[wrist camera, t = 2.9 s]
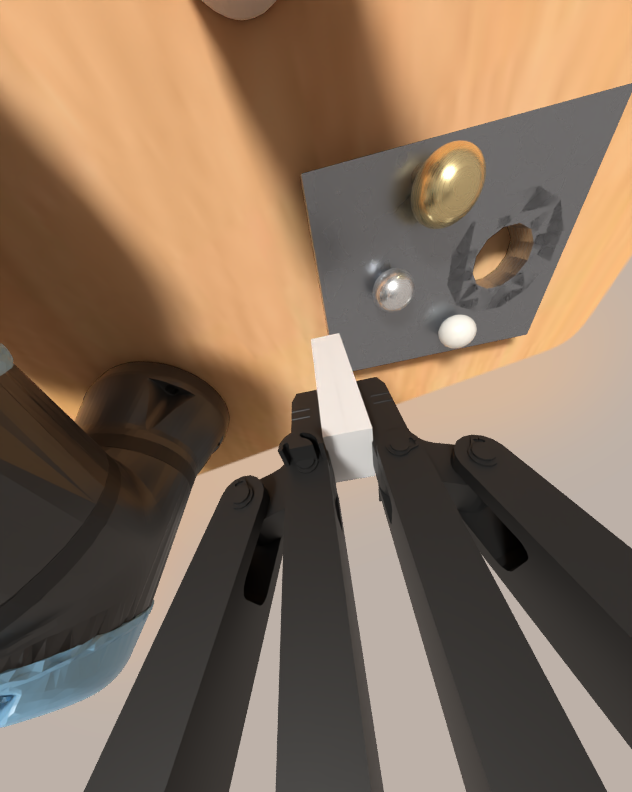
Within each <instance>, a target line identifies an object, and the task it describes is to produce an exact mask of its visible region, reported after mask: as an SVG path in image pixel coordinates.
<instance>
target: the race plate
mask: <svg viewBox="0 0 632 792" xmlns="http://www.w3.org/2000/svg"><path fill="white" fill-rule="evenodd" d="M631 93H632V83H631V84H627V85H624V86H620V87H616V88H613V89H609V90H605V91H602V92H598V93H595V94H591V95H587V96H584V97H580V98H576V99H573V100H569V101H565V102H562V103H558V104H554V105H551V106H547V107H543V108H540V109H536V110H532V111H529V112H525V113H521V114H518V115H514V116H511V117H507V118H503V119H500V120H496V121H492V122H489V123H485V124H481V125H478V126H474V127H470V128H467V129H463V130H459V131H456V132H452V133H448V134H445V135H441V136H437V137H434V138H430V139H427V140H423V141H419V142H416V143H412V144H408V145H405V146H401V147H397V148H394V149H390V150H386V151H383V152H379V153H375V154H372V155H368V156H364V157H361V158H357V159H353V160H350V161H346V162H342V163H339V164H335V165H332V166H328V167H324V168H321V169H317V170H313V171H310V172H306V173H302V174H301V176H300V180H301V185H302V191H303V196H304V202H305V208H306V213H307V219H308V225H309V230H310V236H311V241H312V247H313V253H314V258H315V264H316V270H317V275H318V281H319V286H320V292H321V298H322V303H323V309H324V315H325V320H326V326H327V331H328V335H333V334H337V333H339V334H340V337H341V340H342V342H343V345H344V348H345V351H346V354H347V357H348V360H349V362H350V365H351V368H352V371H356V370H361V369H365V368H370V367H375V366H379V365H384V364H389V363H394V362H398V361H403V360H408V359H413V358H417V357H422V356H427V355H431V354H436V353H441V352H446V351H450V350H455V349H460V348H449V347H446V346H445V345H443V344H442V343H441V341H440V340H439V336H438V331H439V328H440V326H441V324H442V323H443V322H444V321H445V320H446V319H447V318H449V317H451V316H454V315H466V316H469V317H470V318H472V319H473V320H474V322H475V324H476V327H477V331H476V335H475V337H474V339H473V340H472V341H471V342H470V343H469V344H468V345H466V346H464V347H469V346H474V345H479V344H483V343H488V342H493V341H498V340H502V339H507V338H512V337H516V336H521V335H526V334H527V333H528V330H529V328H530V326H531V323H532V321H533V319H534V317H535V314H536V312H537V310H538V307H539V305H540V303H541V300H542V298H543V296H544V293H545V291H546V289H547V287H548V284H549V282H550V280H551V277H552V275H553V273H554V270H555V268H556V266H557V263H558V261H559V259H560V257H561V254H562V252H563V250H564V247H565V245H566V243H567V240H568V238H569V236H570V234H571V231H572V229H573V227H574V224H575V222H576V220H577V217H578V215H579V213H580V210H581V208H582V206H583V204H584V201H585V199H586V197H587V194H588V192H589V190H590V187H591V185H592V183H593V180H594V178H595V176H596V174H597V171H598V169H599V167H600V164H601V162H602V160H603V157H604V155H605V153H606V150H607V148H608V146H609V144H610V141H611V139H612V137H613V134H614V132H615V130H616V127H617V125H618V123H619V120H620V118H621V116H622V114H623V111H624V109H625V107H626V104H627V102H628V100H629V97H630V95H631ZM459 140H463V141H468V142H471V143H473V144H475V145H476V146H477V147H478V148H479V149H480V150H481V152H482V154H483V156H484V158H485V163H486V177H485V182H484V186H483V189H482V192H481V194H480V196H479V198H478V200H477V202H476V203H475V205H474V206H473V207H472V209H471V210H470V211H469V212H468V213H467V214H466V215H465V216H464V217H463V218H462V219H461V220H459V221H458V222H456V223H455V224H453V225H451V226H449V227H445V228H442V229H430V228H427V227H424V226H423V225H421V224H420V223H419V222H418V221H417V220H416V218H415V216H414V214H413V212H412V208H411V191H412V186H413V183H414V180H415V178H416V175H417V173H418V171H419V170H420V168H421V166H422V165H423V163H424V162H425V161H426V160H427V158H428V157H429V156H430V155H431V154H432V153H433V152H435V151H436V150H437V149H438V148H440V147H442V146H443V145H445V144H447V143H450V142H453V141H459ZM505 226H507V227H508V230H509V234H510V238H511V240H510V244H509V247H508V251H507V254H506V256H505V257H504V259H503V260H502V261H501V263H500V264H499V266H498V267H497V268H496V269H495V270H494V271H493V272H491V273H490V274H489V275H487V276H486V277H484V278H483V279H479V280H475V279H474V276H473V268H474V264H475V259H476V256H477V255H478V253H479V252H480V250H481V249H482V247H483V245H484V244H485V242H486V241H487V240H488V239H489V238H490V237H491V236H493V235H494V234H495V233H497V232H498V231H499V230H500V229H502V228H503V227H505ZM391 268H402V269H404V270H406V271H408V272H409V273H410V274H411V275H412V277H413V279H414V282H415V292H414V296H413V298H412V300H411V301H410V303H409V304H408V305H407V306H406V307H405V308H403V309H402V310H399V311H397V312H385V311H383V310H381V309H380V308H378V307H377V305H376V304H375V302H374V300H373V295H372V291H373V286H374V283H375V281H376V280H377V278H378V277H379V276H380V275H381V274H382V273H383V272H385V271H386V270H388V269H391ZM464 347H461V348H464Z"/></svg>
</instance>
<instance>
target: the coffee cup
mask: <svg viewBox="0 0 632 792" xmlns="http://www.w3.org/2000/svg"><path fill="white" fill-rule="evenodd" d="M201 1H202V2H204V3H205V4H206V5H207V6H209V7H210V8H211V9H212V10H214V11H215V12H217V13H219V14H221V15H223V16H225V17H227V18H231V19H236V20H248V19H252V18H255V17H257V16H259V15H261V14H263V13H265V12H266V11H267V10H268V9H269V8H270V7H271V6H272V5H273V4H274V3H275V2H276V0H201Z"/></svg>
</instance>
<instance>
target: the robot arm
mask: <svg viewBox="0 0 632 792" xmlns="http://www.w3.org/2000/svg"><path fill="white" fill-rule="evenodd" d="M311 344H312V352H313V360H314V369H315V377H316V385H317V390H314V391H309V392H304V393H299V394H296V396H295V398H294V400H293V402H292V428H291V433H290V434H289V435H287V436H286V437H285V438H284V439H283V440H282V442H281V443H280V445H279V449H278V452H279V454H280V456H281V458H282V460H283V462H284V465H283V466H282V467H281V468H280V469H279V470H277V471H275V472H274V473H272V474H270V475H268V476H266V477H264V478H262V479H260V480H259V479H258V478H257V477H254V476H251V475H250V476H243V477H241V478H239V479H237V480H235V481H234V482H232V483H231V484H230V485H229V486H228V487H227V488H226V490H225V492H224V493H223V495H222V497H221V499H220V501H219V503H218V505H217V507H216V510H215V512H214V514H213V516H212V518H211V520H210V522H209V525H208V527H207V529H206V531H205V533H204V535H203V537H202V539H201V542H200V544H199V546H198V548H197V551H196V552H195V554H194V557H193V559H192V561H191V563H190V565H189V567H188V569H187V572H186V574H185V576H184V578H183V580H182V582H181V585H180V587H179V589H178V591H177V593H176V595H175V597H174V599H173V602H172V604H171V606H170V608H169V610H168V613H167V615H166V617H165V619H164V621H163V623H162V625H161V627H160V629H159V631H158V634H157V636H156V638H155V640H154V642H153V644H152V646H151V649H150V651H149V653H148V655H147V657H146V659H145V662H144V664H143V666H142V668H141V670H140V672H139V674H138V677H137V679H136V681H135V683H134V685H133V687H132V689H131V692H130V694H129V696H128V698H127V700H126V702H125V705H124V706H123V709H122V711H121V713H120V715H119V717H118V719H117V721H116V724H115V726H114V728H113V730H112V732H111V734H110V736H109V738H108V741H107V743H106V745H105V747H104V749H103V751H102V753H101V756H100V758H99V760H98V762H97V764H96V766H95V769H94V771H93V773H92V775H91V777H90V779H89V781H88V783H87V786H86V788H85V790H84V792H229V788H230V784H231V780H232V775H233V771H234V767H235V762H236V758H237V753H238V749H239V745H240V740H241V736H242V731H243V727H244V723H245V718H246V714H247V709H248V705H249V700H250V696H251V692H252V687H253V683H254V678H255V674H256V670H257V665H258V661H259V656H260V652H261V648H262V643H263V639H264V634H265V630H266V626H267V621H268V617H269V613H270V608H271V604H272V599H273V595H274V591H275V586H276V582H277V578H278V573H279V569H280V564H281V560H282V556H283V577H282V607H281V641H280V672H279V702H278V703H279V704H278V735H277V766H276V792H384V791H383V784H382V777H381V770H380V764H379V758H378V751H377V744H376V738H375V732H374V725H373V719H372V712H371V706H370V699H369V693H368V686H367V680H366V673H365V666H364V659H363V653H362V646H361V640H360V633H359V627H358V621H357V614H356V607H355V601H354V594H353V588H352V581H351V575H350V568H349V561H348V555H347V549H346V542H345V536H344V529H343V522H342V516H341V509H340V503H339V498H338V494H337V489H336V482H342V481H348V480H353V479H359V478H365V477H371V476H375V473H376V477H377V480H378V484H379V501H382V503H383V507H384V510H385V514H386V517H387V521H388V524H389V527H390V531H391V534H392V538H393V541H394V545H395V548H396V552H397V555H398V558H399V562H400V565H401V569H402V572H403V576H404V579H405V582H406V586H407V589H408V593H409V596H410V599H411V603H412V607H413V610H414V613H415V617H416V620H417V623H418V627H419V631H420V634H421V637H422V641H423V644H424V648H425V651H426V655H427V658H428V661H429V665H430V668H431V672H432V675H433V679H434V682H435V686H436V689H437V692H438V696H439V699H440V703H441V706H442V709H443V713H444V716H445V720H446V723H447V727H448V730H449V734H450V737H451V741H452V743H453V747H454V751H455V754H456V758H457V761H458V765H459V768H460V771H461V774H462V778H463V782H464V785H465V789H466V792H607V790H606V789H605V787H604V785H603V783H602V781H601V779H600V777H599V775H598V774H597V772H596V770H595V768H594V766H593V764H592V762H591V760H590V759H589V757H588V755H587V753H586V751H585V749H584V747H583V745H582V744H581V741H580V740H579V738H578V736H577V734H576V732H575V730H574V728H573V726H572V725H571V723H570V721H569V719H568V717H567V715H566V713H565V711H564V709H563V708H562V706H561V704H560V702H559V700H558V698H557V696H556V694H555V693H554V691H553V689H552V687H551V685H550V683H549V681H548V680H547V677H546V676H545V674H544V672H543V670H542V668H541V666H540V664H539V663H538V661H537V659H536V657H535V655H534V653H533V651H532V649H531V647H530V646H529V644H528V642H527V640H526V638H525V636H524V634H523V632H522V631H521V629H520V627H519V625H518V623H517V621H516V619H515V617H514V615H513V614H512V612H511V610H510V608H509V606H508V604H507V602H506V600H505V599H504V597H503V595H502V593H501V591H500V589H499V587H498V585H497V584H496V581H495V580H494V578H493V576H492V574H491V572H490V570H489V568H488V566H487V565H486V563H485V561H484V559H483V557H482V555H483V556H484V558H485V559H486V561H487V562H488V563H489V565H490V566H491V567H492V568H493V570H494V571H495V572H496V573H497V575H498V576H499V578H500V579H501V580H502V581H503V583H504V584H505V585H506V587H507V588H508V589H509V590H510V592H511V593H512V594H513V596H514V597H515V598H516V600H517V601H518V602H519V603H520V605H521V606H522V607H523V609H524V610H525V611H526V612H527V614H528V615H529V616H530V618H531V619H532V620H533V622H534V623H535V624H536V625H537V627H538V628H539V629H540V631H541V632H542V633H543V635H544V636H545V637H546V638H547V640H548V641H549V642H550V644H551V645H552V646H553V648H554V649H555V650H556V651H557V653H558V654H559V655H560V657H561V658H562V659H563V661H564V662H565V663H566V664H567V665H568V667H569V668H570V669H571V671H572V672H573V674H574V675H575V676H576V677H577V679H578V680H579V681H580V682H581V684H582V685H583V686H584V688H585V689H586V690H587V692H588V693H589V694H590V696H591V697H592V698H593V699H594V701H595V702H596V703H597V705H598V706H599V707H600V709H601V710H602V711H603V712H604V714H605V715H606V716H607V717H608V719H609V720H610V722H611V723H612V724H613V725H614V727H615V728H616V729H617V731H618V732H619V733H620V734H621V736H622V737H623V738H624V740H625V741H626V742H627V744H628V745H629V746H630V747H631V749H632V549H631V548H630V547H629V546H627V545H626V544H625V543H624V542H623V541H622V540H620V539H619V538H618V537H616V536H615V535H614V534H613V533H611V532H610V531H609V530H608V529H607V528H605V527H604V526H603V525H601V524H600V523H599V522H598V521H596V520H595V519H594V518H593V517H592V516H590V515H589V514H588V513H587V512H585V511H584V510H583V509H582V508H580V507H579V506H578V505H577V504H575V503H574V502H573V501H572V500H570V499H569V498H568V497H567V496H565V495H564V494H563V493H562V492H560V491H559V490H558V489H557V488H556V487H554V486H553V485H552V484H551V483H549V482H548V481H547V480H546V479H544V478H543V477H542V476H541V475H539V474H538V473H537V472H535V471H534V470H533V469H532V468H531V467H529V466H528V465H527V464H525V463H524V462H523V461H522V460H520V459H519V458H518V457H517V456H516V455H514V454H513V453H512V452H511V451H509V450H508V449H507V448H505V447H504V446H503V445H502V444H500V443H498V442H497V441H495V440H493V439H491V438H488V437H484V436H479V435H469V436H464V437H462V438H460V439H459V440H457V441H456V444H455V445H452V444H441V443H432V442H427V441H424V440H422V439H420V438H418V437H417V436H415V435H414V434H412V433H411V432H410V431H409V429H408V428H407V426H406V424H405V422H404V421H403V418H402V416H401V415H400V413H399V410H398V408H397V407H396V405H395V403H394V401H393V399H392V397H391V395H390V394H389V391H388V389H387V387H386V385H385V383H384V382H382V381H381V380H380V379H378V378H377V377H374V378H369V379H364V380H359V381H356V380H355V377H354V374H353V371H352V368H351V365H350V362H349V360H348V357H347V354H346V351H345V348H344V345H343V342H342V340H341V337H340V334H339V333H337V334H333V335H328V336H323V337H319V338H314V339H311ZM228 425H229V413H228V409H227V407H226V405H225V403H224V401H223V399H222V398H221V397H220V395H219V394H218V393H217V392H216V391H215V390H214V389H213V388H212V387H211V386H210V385H208V384H207V383H206V382H204V381H203V380H201V379H200V378H198V377H196V376H194V375H193V374H191V373H188V372H186V371H184V370H181V369H179V368H176V367H173V366H169V365H165V364H160V363H153V362H131V363H125V364H121V365H118V366H116V367H113V368H111V369H110V370H108V371H107V372H105V373H104V374H103V375H102V376H101V377H100V378H99V379H98V380H96V381H95V382H94V383H93V384H92V385H91V386H90V388H89V389H88V390H87V392H86V394H85V396H84V399H83V402H82V405H81V407H80V409H79V412H78V414H77V417H76V419H75V422H74V421H73V420H72V419H71V418H70V417H69V416H68V415H67V414H66V413H65V412H64V411H63V410H62V409H61V408H60V407H59V406H58V405H56V404H55V403H54V402H53V401H52V400H51V399H50V398H49V397H48V396H47V395H46V394H45V393H44V392H43V391H42V390H41V389H40V388H39V387H38V386H37V385H36V384H35V383H34V382H32V381H31V380H30V379H29V378H28V377H27V376H26V375H25V374H24V373H23V372H22V371H21V370H20V369H19V368H18V367H17V366H16V365H15V364H14V363H13V357H12V355H11V354H10V352H9V350H8V349H7V348H6V347H5V346H4V345H3V344H1V343H0V727H6V726H9V725H12V724H16V723H19V722H22V721H26V720H29V719H32V718H35V717H39V716H41V715H45V714H47V713H50V712H53V711H56V710H59V709H61V708H64V707H67V706H69V705H72V704H74V703H77V702H79V701H82V700H84V699H86V698H88V697H90V696H92V695H94V694H95V693H97V692H99V691H100V690H102V689H103V688H105V687H106V686H107V685H108V684H109V683H111V682H112V681H113V680H114V679H115V678H116V677H117V676H118V674H119V673H120V672H121V671H122V669H123V668H124V666H125V665H126V663H127V662H128V660H129V658H130V656H131V654H132V652H133V649H134V647H135V645H136V642H137V640H138V638H139V635H140V633H141V631H142V629H143V626H144V624H145V622H146V620H147V617H148V615H149V614H150V612H151V610H152V607H153V604H154V600H153V598H154V595H155V593H156V589H157V587H158V584H159V581H160V578H161V575H162V572H163V570H164V567H165V564H166V560H167V558H168V555H169V552H170V550H171V546H172V544H173V541H174V538H175V535H176V532H177V529H178V526H179V524H180V521H181V518H182V515H183V512H184V509H185V507H186V503H187V501H188V498H189V495H190V491H191V489H192V486H193V484H194V481H195V478H196V476H197V474H198V473H199V472H200V471H201V469H202V468H203V467H204V465H205V464H206V463H207V461H208V460H209V458H210V456H211V454H212V453H214V452H215V451H216V450H217V449H218V448H219V446H220V445H221V444H222V442H223V440H224V438H225V435H226V432H227V428H228ZM481 554H482V555H481Z"/></svg>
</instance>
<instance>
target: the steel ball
mask: <svg viewBox="0 0 632 792" xmlns="http://www.w3.org/2000/svg"><path fill="white" fill-rule="evenodd" d="M414 292H415V282H414V279H413V277H412V275H411V274H410V273H409V272H408V271H406V270H404V269H402V268H391V269H388V270H386V271H385V272H383V273H382V274H381V275H380V276H379V277H378V278H377V280H376V281H375V283H374V286H373V291H372V295H373V300H374V302H375V304H376V305H377V307H378V308H380V309H381V310H383V311H385V312H397V311H399V310H402V309H403V308H405V307H406V306H407V305H408V304H409V303H410V301H411V300H412V298H413V296H414Z"/></svg>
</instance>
